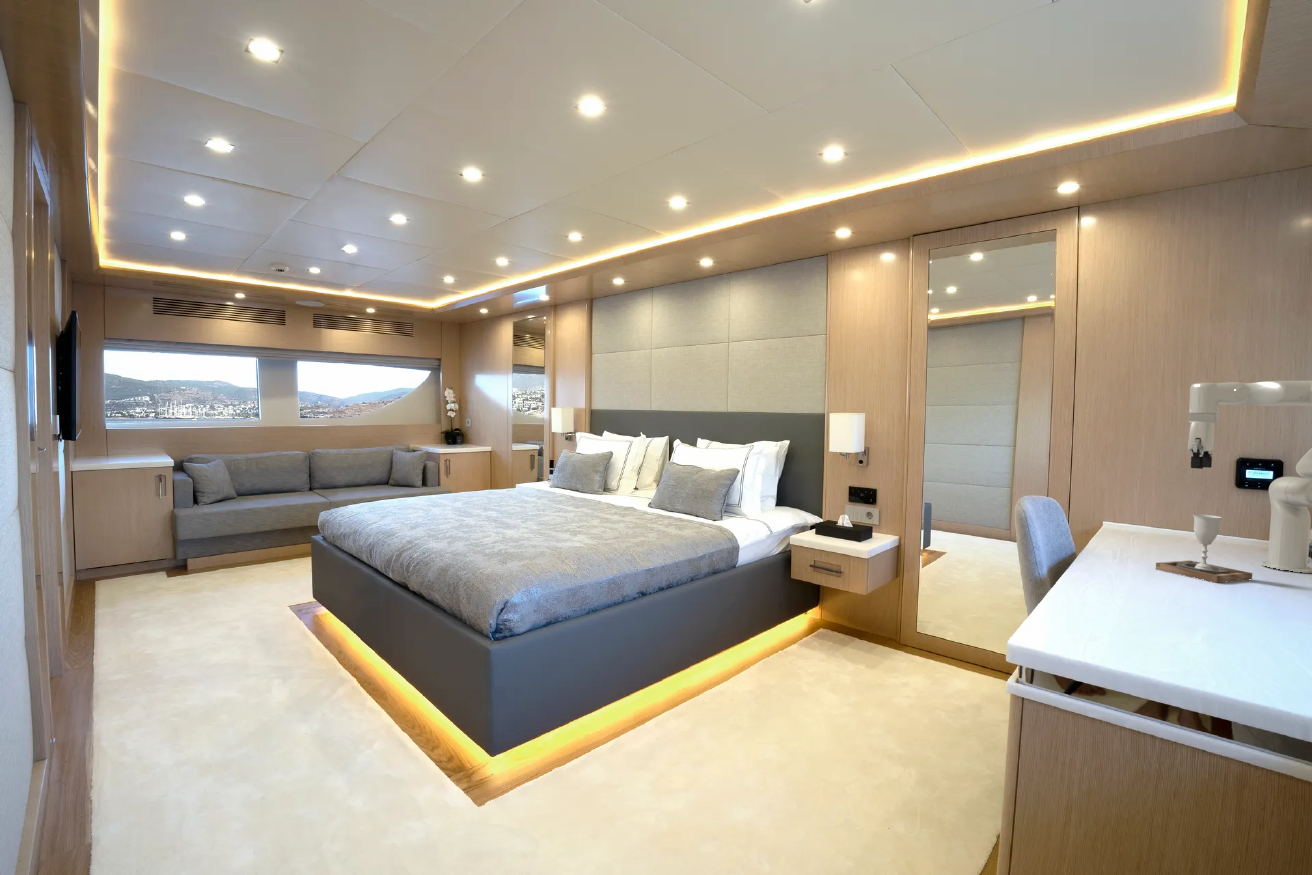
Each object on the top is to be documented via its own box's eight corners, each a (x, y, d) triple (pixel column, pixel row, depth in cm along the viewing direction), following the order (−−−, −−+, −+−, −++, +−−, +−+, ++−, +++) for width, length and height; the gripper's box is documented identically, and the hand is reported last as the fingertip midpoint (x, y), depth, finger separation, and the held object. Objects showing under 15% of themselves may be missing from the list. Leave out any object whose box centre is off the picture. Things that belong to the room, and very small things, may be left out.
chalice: (1224, 574, 193) (1228, 518, 193) (1202, 573, 194) (1206, 517, 193) (1204, 568, 201) (1207, 514, 200) (1183, 568, 201) (1186, 513, 200)
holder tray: (1189, 566, 208) (1190, 559, 208) (1251, 579, 192) (1252, 572, 192) (1155, 569, 202) (1156, 561, 202) (1216, 583, 186) (1216, 574, 186)
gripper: (1196, 418, 219) (1194, 466, 220) (1181, 418, 209) (1179, 468, 210) (1224, 418, 213) (1222, 467, 214) (1210, 418, 203) (1208, 469, 204)
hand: (1201, 467), depth 212 cm, fingers open, 9 cm apart
